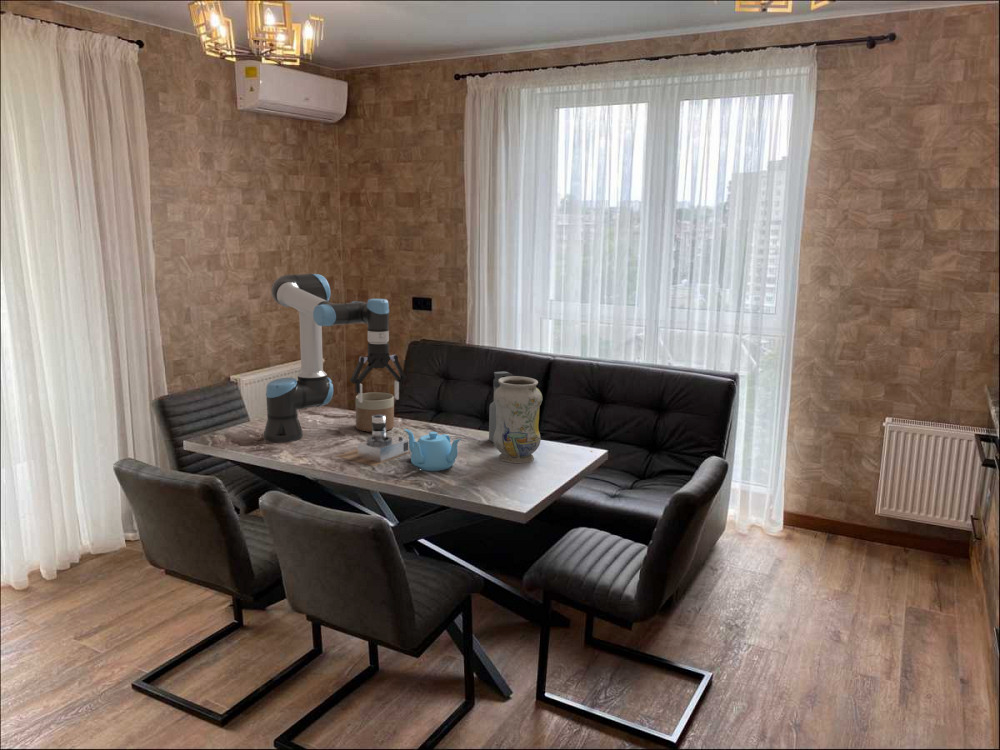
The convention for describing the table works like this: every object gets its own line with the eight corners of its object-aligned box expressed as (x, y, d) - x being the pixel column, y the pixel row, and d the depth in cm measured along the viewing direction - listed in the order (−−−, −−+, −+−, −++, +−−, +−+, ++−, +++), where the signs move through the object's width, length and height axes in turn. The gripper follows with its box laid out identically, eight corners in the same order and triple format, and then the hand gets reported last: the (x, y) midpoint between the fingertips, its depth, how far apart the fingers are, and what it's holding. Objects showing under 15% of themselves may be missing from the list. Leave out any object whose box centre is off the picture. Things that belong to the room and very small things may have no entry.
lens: (370, 441, 277) (369, 414, 275) (384, 439, 279) (383, 413, 277) (374, 445, 272) (374, 418, 270) (388, 443, 275) (387, 416, 273)
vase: (545, 465, 274) (548, 384, 268) (496, 466, 271) (498, 385, 265) (534, 450, 291) (537, 374, 285) (489, 452, 288) (490, 375, 282)
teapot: (412, 475, 260) (412, 440, 258) (404, 459, 277) (404, 427, 275) (460, 471, 264) (461, 438, 262) (450, 456, 282) (450, 424, 280)
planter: (390, 433, 311) (390, 401, 309) (352, 432, 311) (352, 400, 309) (396, 423, 327) (396, 392, 324) (360, 422, 327) (359, 391, 324)
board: (335, 459, 276) (335, 456, 275) (373, 446, 292) (373, 443, 292) (374, 469, 265) (373, 465, 265) (410, 455, 282) (410, 452, 281)
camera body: (357, 456, 275) (357, 439, 274) (385, 447, 288) (385, 430, 286) (380, 462, 269) (380, 444, 268) (408, 452, 282) (408, 435, 280)
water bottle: (507, 436, 311) (508, 369, 306) (518, 442, 302) (519, 373, 297) (485, 438, 307) (486, 371, 301) (495, 444, 298) (496, 375, 293)
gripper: (346, 345, 260) (347, 405, 264) (415, 342, 271) (414, 399, 275) (341, 342, 266) (342, 400, 271) (408, 339, 277) (407, 395, 282)
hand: (378, 400), depth 273 cm, fingers open, 13 cm apart
